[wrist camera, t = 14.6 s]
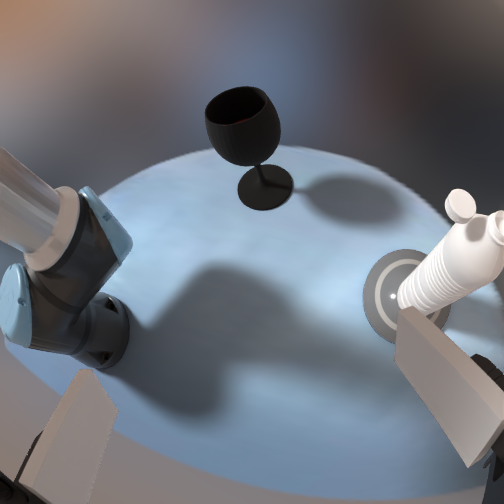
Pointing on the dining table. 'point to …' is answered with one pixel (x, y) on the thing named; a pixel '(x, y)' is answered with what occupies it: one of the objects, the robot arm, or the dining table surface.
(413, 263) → the slate coaster
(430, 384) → the robot arm
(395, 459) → the dining table surface
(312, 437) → the dining table surface
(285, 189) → the wine glass
